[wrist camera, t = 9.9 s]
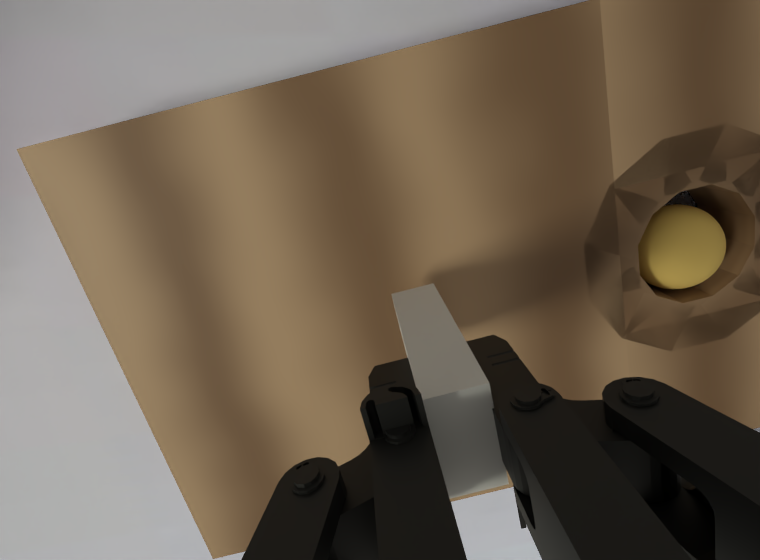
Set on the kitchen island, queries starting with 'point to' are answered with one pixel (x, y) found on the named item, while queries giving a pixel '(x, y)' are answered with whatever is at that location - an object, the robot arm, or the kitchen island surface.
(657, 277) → the ball
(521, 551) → the kitchen island surface
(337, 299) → the board
